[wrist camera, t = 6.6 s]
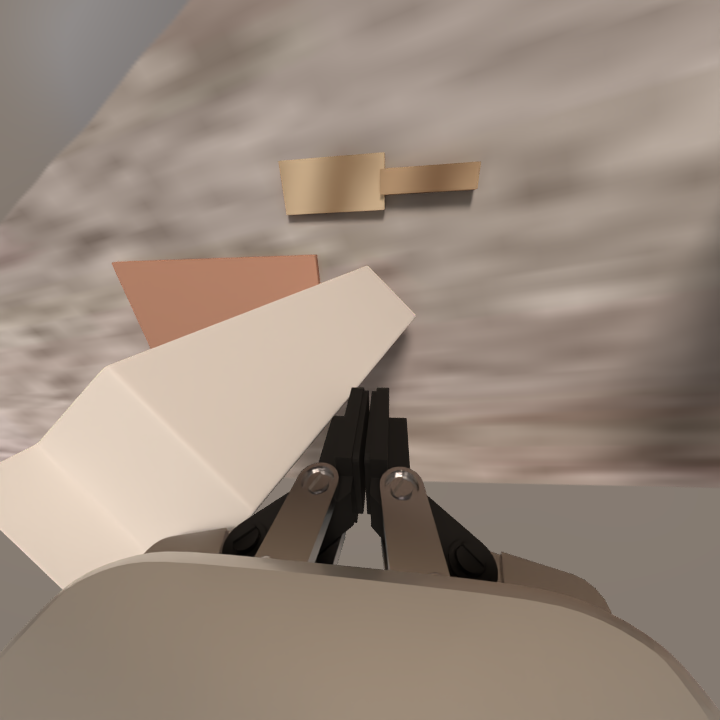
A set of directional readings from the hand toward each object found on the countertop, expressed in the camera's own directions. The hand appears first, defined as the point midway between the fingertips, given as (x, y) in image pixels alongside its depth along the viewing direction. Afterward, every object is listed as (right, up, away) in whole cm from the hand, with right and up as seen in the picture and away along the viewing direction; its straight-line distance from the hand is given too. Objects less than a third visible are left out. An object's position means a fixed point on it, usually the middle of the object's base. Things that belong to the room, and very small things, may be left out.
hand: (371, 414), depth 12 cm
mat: (-14, +8, +15) cm, 22 cm away
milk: (+1, +7, +12) cm, 14 cm away
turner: (0, +16, +9) cm, 18 cm away
